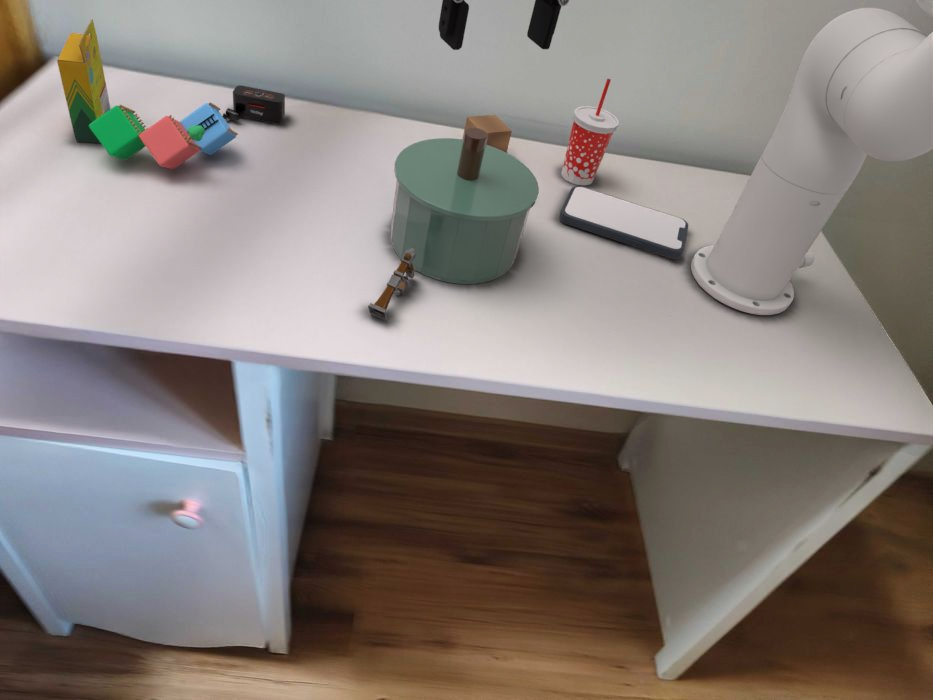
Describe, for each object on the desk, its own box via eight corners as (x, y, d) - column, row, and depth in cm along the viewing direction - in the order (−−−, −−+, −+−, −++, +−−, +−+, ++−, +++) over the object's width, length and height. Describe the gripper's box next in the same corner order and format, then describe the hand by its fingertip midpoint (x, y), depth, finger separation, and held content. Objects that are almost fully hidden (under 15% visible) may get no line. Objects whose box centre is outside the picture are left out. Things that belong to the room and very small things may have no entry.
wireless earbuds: (232, 106, 93) (231, 83, 91) (285, 117, 94) (285, 94, 92) (222, 122, 90) (220, 98, 88) (277, 132, 91) (277, 109, 88)
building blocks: (159, 192, 85) (239, 136, 84) (130, 186, 77) (218, 124, 76) (119, 136, 84) (199, 79, 83) (85, 124, 75) (174, 61, 75)
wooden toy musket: (423, 270, 74) (421, 247, 70) (388, 331, 71) (384, 311, 67) (408, 264, 74) (405, 241, 70) (372, 325, 71) (367, 304, 67)
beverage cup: (590, 193, 94) (625, 95, 85) (549, 177, 96) (579, 78, 86) (603, 176, 99) (637, 80, 89) (564, 160, 100) (593, 64, 90)
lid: (492, 142, 83) (503, 94, 79) (563, 215, 74) (579, 165, 70) (370, 153, 76) (376, 101, 72) (433, 236, 67) (443, 181, 63)
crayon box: (86, 112, 86) (66, 14, 78) (112, 114, 86) (95, 18, 79) (74, 142, 81) (51, 41, 73) (102, 144, 81) (82, 44, 73)
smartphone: (555, 224, 88) (678, 264, 86) (559, 213, 87) (683, 253, 84) (570, 193, 94) (685, 229, 92) (573, 182, 93) (690, 219, 91)
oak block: (488, 144, 99) (495, 114, 96) (504, 161, 96) (512, 130, 93) (460, 147, 97) (466, 116, 94) (476, 164, 94) (482, 133, 91)
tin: (477, 201, 88) (491, 140, 82) (538, 272, 79) (558, 209, 73) (370, 216, 81) (377, 150, 75) (424, 294, 73) (436, 227, 67)
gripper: (470, -187, 47) (430, 62, 59) (657, -154, 55) (590, 60, 67) (423, -210, 51) (394, 26, 63) (603, -177, 59) (548, 28, 71)
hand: (495, 43), depth 65 cm, fingers open, 9 cm apart
